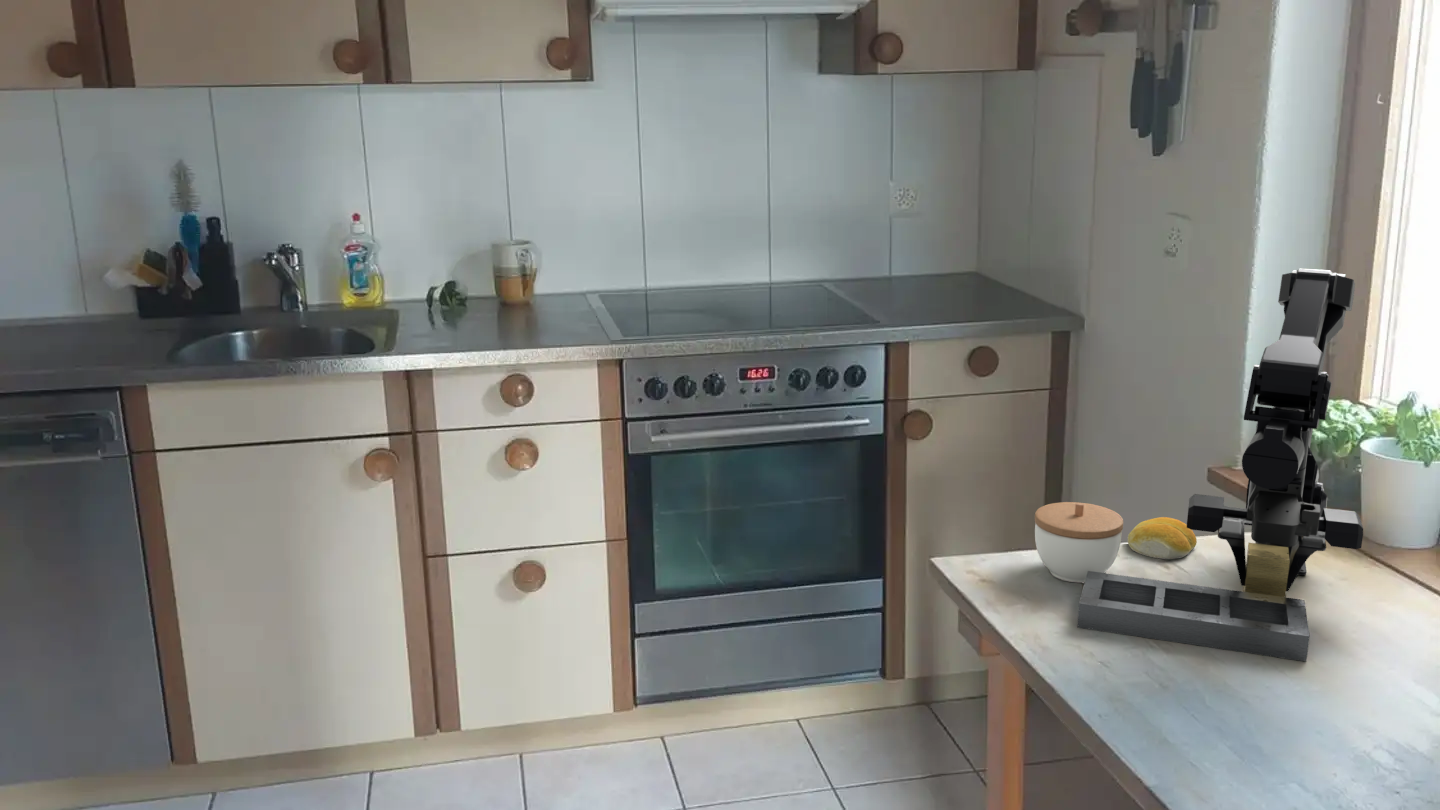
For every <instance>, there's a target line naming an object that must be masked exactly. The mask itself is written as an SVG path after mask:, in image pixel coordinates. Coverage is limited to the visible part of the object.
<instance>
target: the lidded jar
mask: <svg viewBox="0 0 1440 810" xmlns="http://www.w3.org/2000/svg"><path fill="white" fill-rule="evenodd" d="M1034 523H1035V526H1034V539H1035V542H1034V543H1035V546H1036V552H1037V554H1038V556H1039V558H1040V560H1041V562H1042V564H1043V565H1044V566H1045V567H1046V568H1047V569H1048V570H1049V573H1050V574H1051V575H1052V576H1053V577H1054V578H1056V579H1059V580H1060V581H1061V580H1062V581H1065V582H1070V583H1074V584H1075V583H1077V584H1078V583H1079V584H1082V583H1083V584H1084V583H1085V580H1086V576H1087V573H1088V571H1093V572H1100V573H1107V572H1106V571H1108V570H1109V569H1110V568H1111V567H1112V566H1113V564H1114V562H1115V560H1116V558H1117V557H1118V555H1119V550H1120V546H1121V541H1122V532H1123V528H1124V519H1123V517H1122V516H1121V515H1120V514H1119V513H1118V512H1116V511H1115V510H1112V509H1110V508H1107V507H1105V506H1101V505H1097V504H1093V503H1084V502H1078V501H1077V502H1075V501H1073V502H1072V501H1071V502H1070V501H1064V502H1063V501H1062V502H1052V503H1049V504H1046V505H1042V506H1040V507H1039V508H1037V509H1036V511H1035V513H1034Z"/></svg>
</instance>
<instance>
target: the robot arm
mask: <svg viewBox="0 0 1440 810" xmlns="http://www.w3.org/2000/svg"><path fill="white" fill-rule="evenodd" d="M1355 289H1356V283H1355V279H1352V278H1350V277H1347V274H1346V273H1345V274H1343V273H1337V272H1332V270H1328V269H1314V268H1301V267H1300V268H1298V269H1297V270H1296V269H1293V270H1292V272H1288V273H1285V274H1282V275H1281V279H1280V288H1279V294H1278V301H1277V302H1278V304H1279V305H1280V306H1283V315H1284V319H1283V323H1282V327H1281V330H1280V335H1279V337H1278V340H1277V341H1275V342H1273V343H1272V344H1269V345H1268V346H1266V347H1265V348H1264V351H1263V353H1262V356H1261V359H1260V363H1259V364H1254V365H1253V369H1252V372H1251V377H1250V378H1251V379H1250V383H1249V387H1248V394H1247V398H1246V404H1245V408H1244V415H1243V421H1249V422H1250V421H1251V422H1256V428H1255V433H1254V435H1253V437H1252V438H1251V440H1250V441H1249V444H1248V445H1247V447H1246V449H1245V450H1244V453H1243V454H1242V456H1241V457H1242V458H1241V468H1242V470H1243V474H1244V475H1245V476H1246V478H1247V479H1248V482H1247V488H1246V497H1245V498H1246V500H1245V501H1246V502H1245V507H1244V508H1243V507H1235V506H1226V505H1225V497H1224V496H1220V495H1219V496H1216V495H1209V494H1208V495H1207V494H1198V493H1194V494H1192V495H1191V496H1190V497H1189V499H1188V507H1187V518H1186V519H1187V520H1186V525H1187V528H1189V529H1191V530H1192V531H1199V532H1200V531H1201V532H1208V533H1209V532H1210V533H1216V532H1217V537H1218V539H1220V540H1225V541H1226V542H1227V544H1228V545H1229V546H1230V549H1231V551H1232V554H1233V557H1234V561H1235V564H1236V570H1237V573H1238V577H1239V580H1240V581H1239V582H1240V585H1241V586H1242V587H1243V586H1245V580H1246V560H1247V556H1246V540H1245V539H1246V538H1245V536H1246V535H1245V526H1251V531H1250V532H1251V534H1250V535H1251V536H1250V537H1251V540H1252V541H1253V542H1254V543H1257V544H1265V545H1273V546H1281V547H1288V550H1289V558H1290V563H1289V571H1288V579H1287V587H1286V593H1287V592H1289V591H1290V589H1291V587H1292V585H1293V584H1294V582H1295V580H1296V578H1297V576H1298V575H1300V576H1306V575H1307V571H1308V570H1307V564H1306V562H1307V560H1308V559H1309V558H1310V557H1311V556H1312V555H1313V554H1314V553H1315V552H1325V551H1326V549H1327V543H1328V544H1329V545H1330V547H1334V548H1335V547H1336V548H1343V549H1352V550H1359V549H1362V545H1363V538H1364V526H1363V523H1362V519H1361V516H1360V515H1359V514H1358V513H1357V512H1356V511H1354V510H1346V509H1337V508H1328V506H1327V505H1328V494H1327V493H1326V491H1325V488H1324V483H1323V482H1320V481H1319V478H1320V472H1319V465H1318V463H1317V461H1316V459H1315V457H1314V455H1313V452H1312V450H1311V442H1312V436H1313V431H1314V430H1318V427H1319V425H1320V420H1322V421H1326V416H1327V411H1328V405H1329V401H1330V395H1331V391H1332V381H1330V379H1329V374H1328V372H1327V371H1323V369H1324V364H1325V357H1326V352H1327V345H1328V344H1329V342H1330V341H1331V340H1332V339H1333V338H1334V337H1335V336H1336V335H1337V333H1339V332H1340V330H1342V329H1343V328H1344V323H1345V317H1346V313H1347V312H1351V311H1352V310H1353V306H1354V305H1353V304H1354V298H1355V291H1356V290H1355ZM1346 311H1347V312H1346ZM1256 398H1257V399H1256ZM1255 402H1256V403H1257V404H1258V405H1260V406H1258V405H1257V406H1256V405H1255ZM1254 406H1255V407H1254ZM1253 409H1254V410H1253Z"/></svg>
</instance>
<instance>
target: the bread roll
mask: <svg viewBox="0 0 1440 810" xmlns="http://www.w3.org/2000/svg"><path fill="white" fill-rule="evenodd" d="M1197 541H1198V540H1197V536H1196V534H1195V533H1194V530H1191V529H1189V528H1187V523H1185V522H1183V521H1181V520H1179V519H1176V518H1172V517H1166V516H1161V517H1160V516H1159V517H1155V518H1149V519H1146V520H1144V521H1143V520H1142V521H1141V522H1139V523H1138V524H1137V525H1136V526H1135V527H1134V528H1133V529H1131V531H1130V532H1129V533H1128V535H1127V544H1128V546H1129V547H1130V549H1131V550H1132V551H1134V552H1136V553H1137V554H1139V555H1143V556H1147V557H1150V558H1154V559H1159V560H1160V559H1161V560H1177V559H1182V558H1184V557H1186V556H1187V555H1189V553H1190V552H1191V551H1192V550H1193V549H1194V548H1195V547H1196V545H1197V543H1198V542H1197Z"/></svg>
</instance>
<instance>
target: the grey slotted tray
mask: <svg viewBox="0 0 1440 810" xmlns="http://www.w3.org/2000/svg"><path fill="white" fill-rule="evenodd" d="M1306 607H1307V606H1306V600H1305V599H1301V598H1295V597H1294V598H1293V597H1287V596H1285V597H1280V596H1272V595H1265V594H1257V593H1250V592H1243V590H1242V591H1241V590H1233V589H1225V588H1220V587H1212V586H1203V585H1195V584H1188V583H1181V582H1175V581H1173V582H1172V581H1166V580H1161V579H1160V580H1159V579H1158V580H1157V579H1151V578H1144V577H1137V576H1136V577H1135V576H1128V575H1122V574H1113V573H1107V572H1104V573H1100V572H1093V571H1088V573H1087V576H1086V580H1085V583H1083V587H1082V591H1081V595H1080V599H1079V602H1078V610H1077V611H1078V612H1077V613H1078V614H1077V623H1076V624H1077V625H1076V627H1077V628H1080V629H1085V630H1092V631H1099V632H1104V633H1105V632H1106V633H1111V634H1113V633H1114V634H1120V635H1126V636H1133V637H1139V638H1140V637H1141V638H1145V639H1146V638H1147V639H1154V640H1159V641H1167V642H1171V643H1172V642H1173V643H1180V644H1184V645H1185V644H1187V645H1193V646H1199V647H1205V648H1213V649H1219V650H1227V651H1232V652H1239V653H1244V654H1245V653H1246V654H1251V655H1261V656H1266V657H1273V658H1280V659H1286V660H1294V661H1301V662H1307V661H1308V654H1309V653H1308V652H1309V644H1310V628H1309V623H1308V622H1309V621H1308V614H1307V608H1306Z"/></svg>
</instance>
